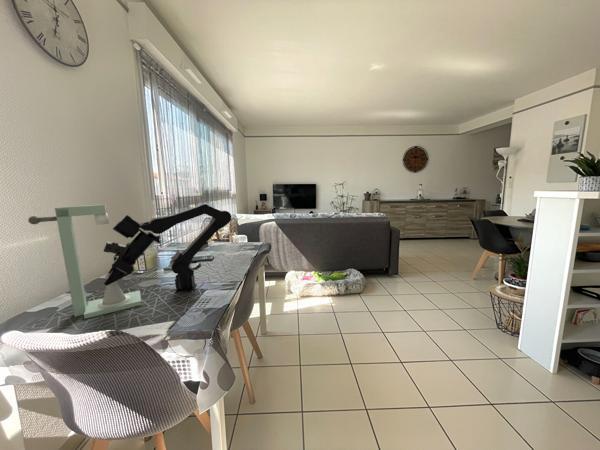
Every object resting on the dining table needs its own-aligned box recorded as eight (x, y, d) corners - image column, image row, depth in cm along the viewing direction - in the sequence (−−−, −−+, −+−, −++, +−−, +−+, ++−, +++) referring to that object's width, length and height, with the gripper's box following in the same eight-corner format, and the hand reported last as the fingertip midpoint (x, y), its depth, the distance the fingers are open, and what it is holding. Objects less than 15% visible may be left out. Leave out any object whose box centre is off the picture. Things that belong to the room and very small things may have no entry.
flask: (123, 303, 90) (118, 276, 89) (98, 307, 88) (93, 279, 86) (128, 295, 97) (125, 270, 96) (106, 298, 95) (102, 272, 93)
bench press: (140, 294, 102) (127, 202, 97) (141, 304, 92) (127, 204, 87) (53, 313, 88) (32, 208, 83) (43, 328, 78) (19, 210, 73)
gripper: (118, 229, 99) (86, 262, 94) (116, 236, 83) (78, 276, 79) (145, 246, 104) (116, 278, 100) (147, 255, 89) (113, 293, 84)
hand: (106, 280), depth 91 cm, fingers open, 9 cm apart
